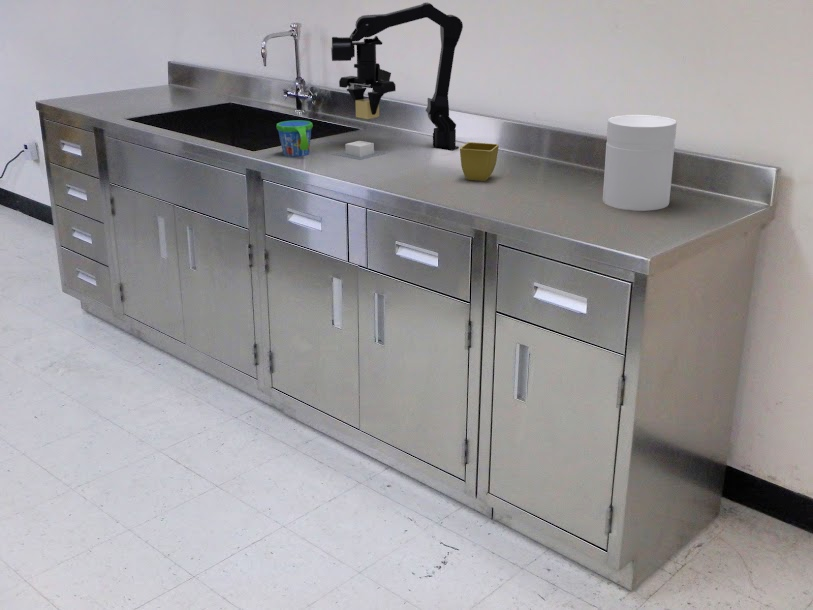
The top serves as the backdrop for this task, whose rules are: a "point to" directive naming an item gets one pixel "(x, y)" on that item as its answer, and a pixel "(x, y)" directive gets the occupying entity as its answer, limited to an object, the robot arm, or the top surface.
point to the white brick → (359, 148)
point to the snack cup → (295, 137)
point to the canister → (639, 162)
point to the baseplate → (343, 154)
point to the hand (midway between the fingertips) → (367, 113)
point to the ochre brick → (365, 109)
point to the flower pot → (478, 160)
